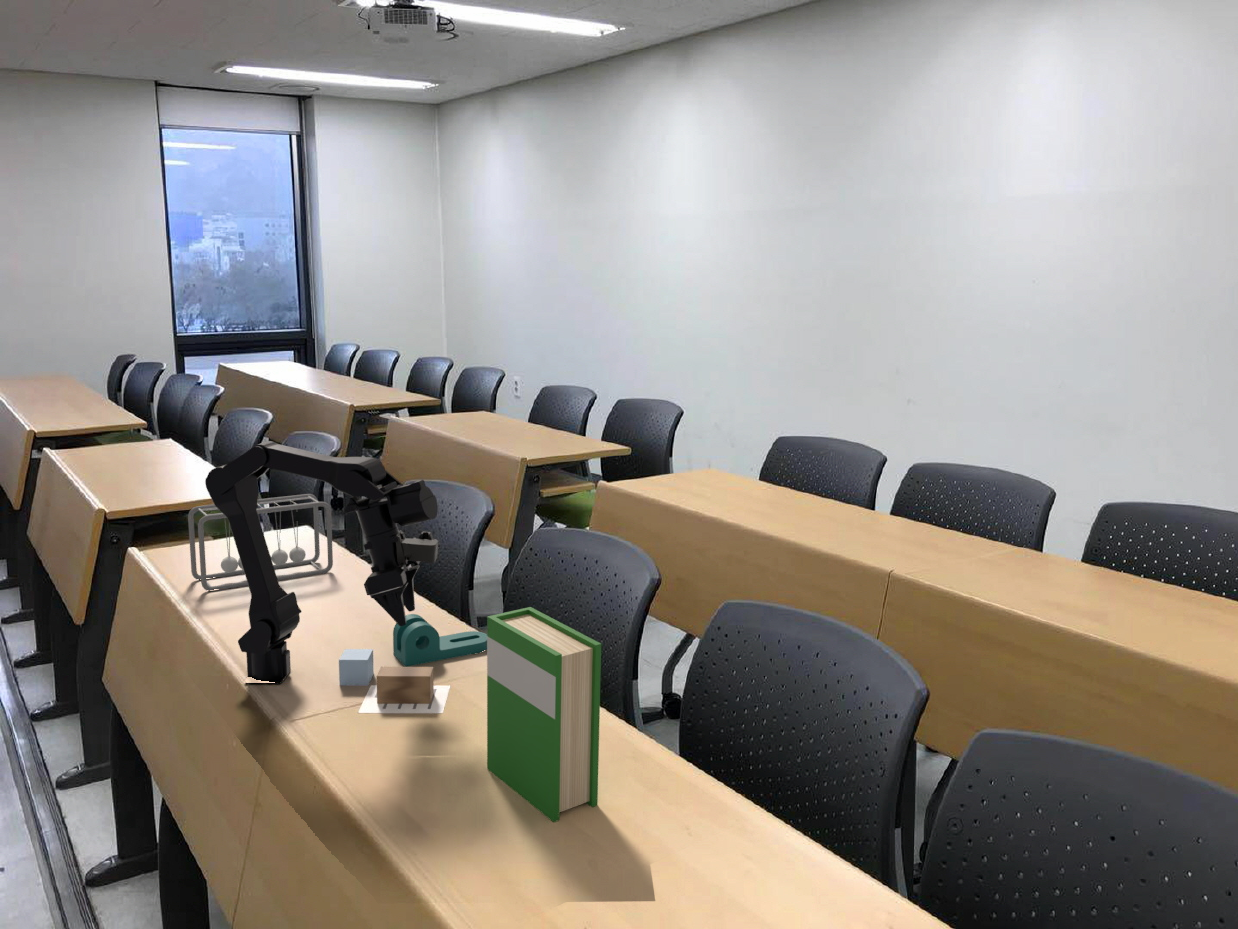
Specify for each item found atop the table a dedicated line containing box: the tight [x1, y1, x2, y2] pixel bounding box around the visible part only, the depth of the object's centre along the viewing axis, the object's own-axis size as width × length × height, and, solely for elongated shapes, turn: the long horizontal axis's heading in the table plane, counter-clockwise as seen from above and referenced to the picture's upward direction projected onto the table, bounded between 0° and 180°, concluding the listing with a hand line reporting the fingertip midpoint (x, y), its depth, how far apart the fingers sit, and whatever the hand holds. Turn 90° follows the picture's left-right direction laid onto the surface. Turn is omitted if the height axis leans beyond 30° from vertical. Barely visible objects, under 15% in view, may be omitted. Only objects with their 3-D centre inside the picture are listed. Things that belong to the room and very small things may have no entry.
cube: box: [338, 648, 375, 686], centre depth 176 cm, size 5×5×5 cm
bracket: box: [392, 613, 487, 667], centre depth 189 cm, size 18×7×8 cm, turn 122°
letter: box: [357, 684, 451, 714], centre depth 169 cm, size 14×11×1 cm
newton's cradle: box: [187, 493, 334, 591], centre depth 231 cm, size 30×10×18 cm, turn 126°
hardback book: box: [486, 606, 602, 823], centre depth 140 cm, size 18×7×24 cm, turn 38°
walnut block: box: [376, 666, 435, 704], centre depth 169 cm, size 9×4×5 cm, turn 93°
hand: (407, 618), depth 168 cm, fingers open, 9 cm apart
